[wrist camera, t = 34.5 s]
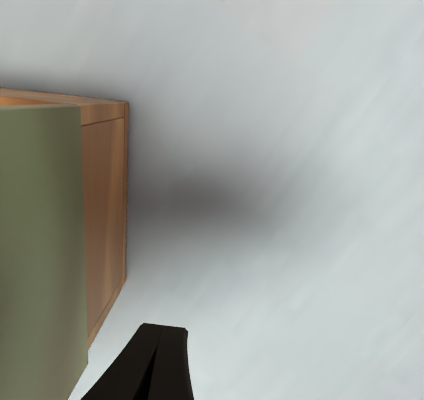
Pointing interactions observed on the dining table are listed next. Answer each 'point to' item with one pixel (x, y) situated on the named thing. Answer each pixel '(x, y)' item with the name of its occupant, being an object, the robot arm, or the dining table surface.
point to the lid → (41, 252)
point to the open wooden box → (97, 194)
